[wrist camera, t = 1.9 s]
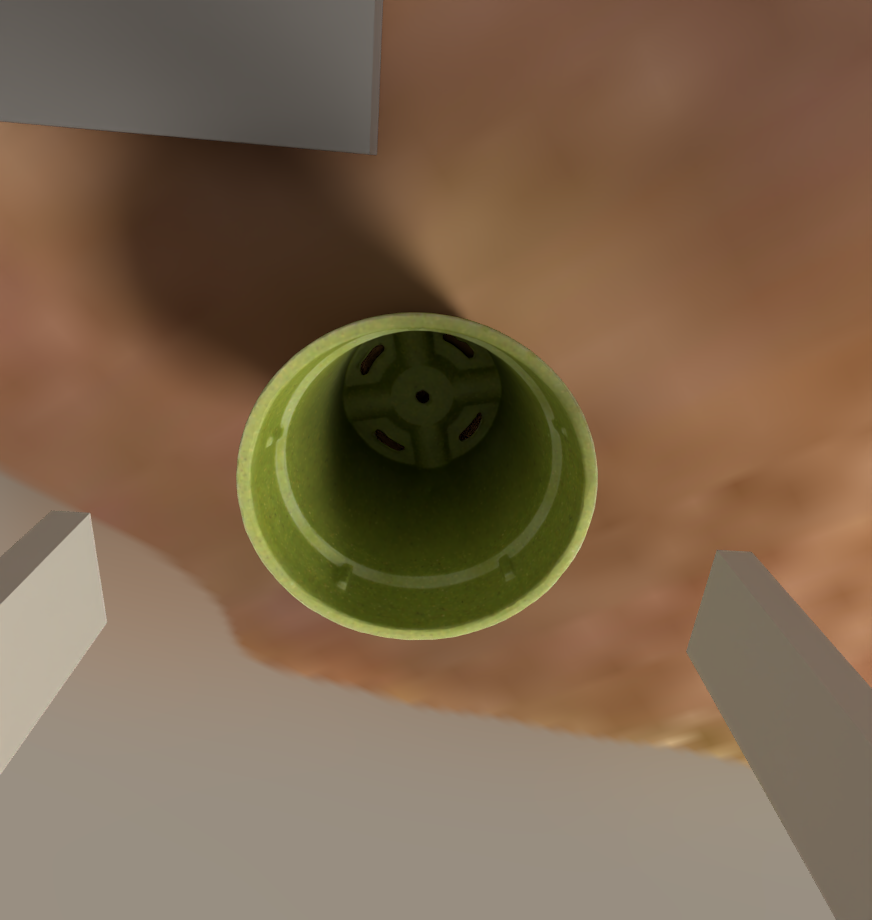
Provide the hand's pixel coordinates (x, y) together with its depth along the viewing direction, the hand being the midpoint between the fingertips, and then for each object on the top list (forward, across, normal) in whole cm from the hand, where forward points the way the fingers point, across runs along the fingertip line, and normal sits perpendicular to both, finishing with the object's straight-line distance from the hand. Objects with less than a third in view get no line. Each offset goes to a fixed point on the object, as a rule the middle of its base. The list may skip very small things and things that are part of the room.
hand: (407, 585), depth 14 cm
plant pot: (+12, 0, 0) cm, 12 cm away
